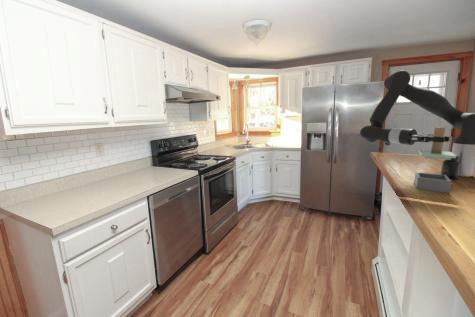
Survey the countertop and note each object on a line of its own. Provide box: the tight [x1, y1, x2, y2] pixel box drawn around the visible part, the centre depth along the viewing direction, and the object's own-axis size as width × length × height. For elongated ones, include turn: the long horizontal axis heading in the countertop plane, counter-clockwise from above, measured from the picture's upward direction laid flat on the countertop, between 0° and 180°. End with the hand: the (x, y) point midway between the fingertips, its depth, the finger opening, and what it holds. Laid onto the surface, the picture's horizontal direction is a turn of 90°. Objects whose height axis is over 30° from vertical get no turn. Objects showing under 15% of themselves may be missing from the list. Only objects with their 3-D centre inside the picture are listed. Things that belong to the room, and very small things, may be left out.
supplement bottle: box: [439, 156, 460, 181], centre depth 119 cm, size 7×7×12 cm
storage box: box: [413, 171, 452, 194], centre depth 103 cm, size 11×11×6 cm
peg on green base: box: [418, 126, 456, 160], centre depth 99 cm, size 11×11×13 cm
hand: (446, 139), depth 97 cm, fingers closed on peg on green base, 3 cm apart
